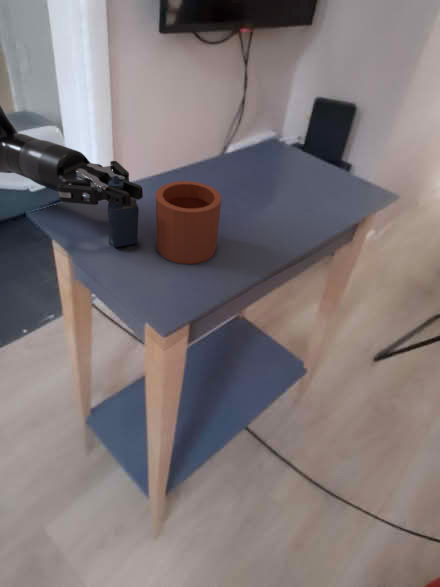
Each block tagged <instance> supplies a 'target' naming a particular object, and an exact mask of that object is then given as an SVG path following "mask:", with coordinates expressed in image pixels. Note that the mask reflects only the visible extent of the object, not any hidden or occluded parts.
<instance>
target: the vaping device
mask: <svg viewBox="0 0 440 587" xmlns="http://www.w3.org/2000/svg"><path fill="white" fill-rule="evenodd" d="M110 186H112V187H115V188H118V189H120V190H123V191H124V183H123V182H121V181H120V177H118V176H113V180H111V181H109V182H108V187H110ZM130 201H131V204H130V205H129V206H127V207H125V206H122V205H118V204H116V203H113V202H110V201H108V202H107V203H108V204H107V217H108V244H109V245H110V246H111V247H113V248H119V247H126V246H130V245H134V244H136V242H137V239H138V230H139V212H140V211H139V205H138V202H137V199H135V198H132V197H130Z"/></svg>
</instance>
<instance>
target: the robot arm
mask: <svg viewBox="0 0 440 587" xmlns="http://www.w3.org/2000/svg"><path fill="white" fill-rule="evenodd" d="M109 163H110V165H107V166H103V165H101V164H99V163H92V162H91V161H89V159H88V158H87V157H86V155H85V154H83V153H82V152H81V151H79V150H76V149H73V148H70V147H67V146H64V145H62V144H59V143H57V142H52V141H49V140H45V139H39V138H37V137H33V136H31V135H29V134H28V135H27V134H24V133H19V132H18V129H17V128H16V127H15V125H14V123H13V122H12V121H11V119H10V118H9V116H8V115H7V113H6V112H5V110H4V108H3V106H2V105H1V104H0V173H1V174H2V173H3V174H15V175H18V176H21V177H24V178H26V179H28V180H31V181H32V182H34V183H35V184H38V185H40V186H42V187H44V188H47V189H50V190H52V191H54V192H57V193H58V196H59V201H60V202H62V203H70V204H80V205H81V204H82V205H92V206H96V205H98V204H99V202H104V203H108V201H110V202H113V203H116V204H118V205H122V206H125V207H127V206H129V205H130V204H131V201H130V197H132V198H135V199H136V201H137V200H138V201H139V200H142V199H143V196H144V193H143V186H141V185H140V184H138V183H135V182H132V181H130V173H129V171H128V170H127V169H126V168H125V167H124V166H122V165H121V164H120V163H119V162H118V161H117V160H111V161H110V162H109ZM113 176H118V177H120V181H121V182H123V183H124V191H123V190H120V189H118V188H115V187H112V186H110V187H108V182H109V181H111V180H113ZM85 196H86V197H85Z"/></svg>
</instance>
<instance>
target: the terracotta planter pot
mask: <svg viewBox="0 0 440 587" xmlns="http://www.w3.org/2000/svg"><path fill="white" fill-rule="evenodd" d="M221 206H222V196H221V194H220V192H219V191H218V190H217V189H215V188H214V187H212V186H210V185H208V184H204V183H203V182H197V181H192V180H191V181H189V180H187V181H186V180H182V181H181V180H179V181H173V182H172V181H171V182H169V183H166V184H164V185H162V186H160V187H159V188H158V189H157V190H156V192H155V216H156V217H155V224H156V226H155V228H156V233H155V234H156V249H157V252H158V253H159V254H160V255H161V256H162V258H165V259H166V260H168V261H171V262H173V263H176V264H181V265H182V264H183V265H194V264H195V265H196V264H199V263H203V262H206V261H208V260H209V259H211V258H212V257H213V256H214V255H215V253H216V250H217V245H218V236H219V235H218V234H219V226H220V215H221Z"/></svg>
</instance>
